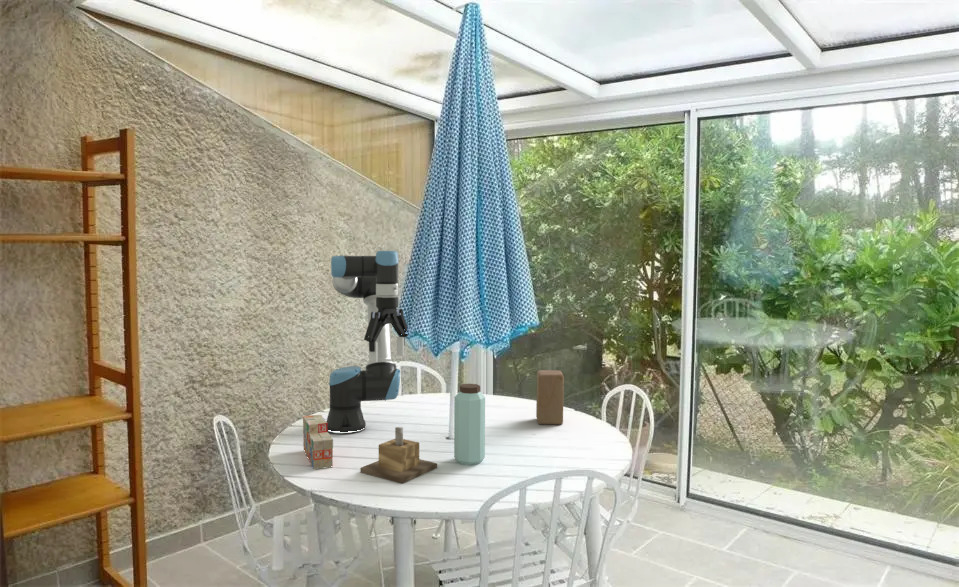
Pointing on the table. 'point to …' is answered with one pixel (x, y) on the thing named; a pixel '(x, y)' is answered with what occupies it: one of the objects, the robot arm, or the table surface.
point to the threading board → (395, 475)
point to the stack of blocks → (317, 441)
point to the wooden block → (550, 397)
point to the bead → (398, 455)
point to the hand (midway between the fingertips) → (387, 358)
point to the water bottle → (469, 425)
